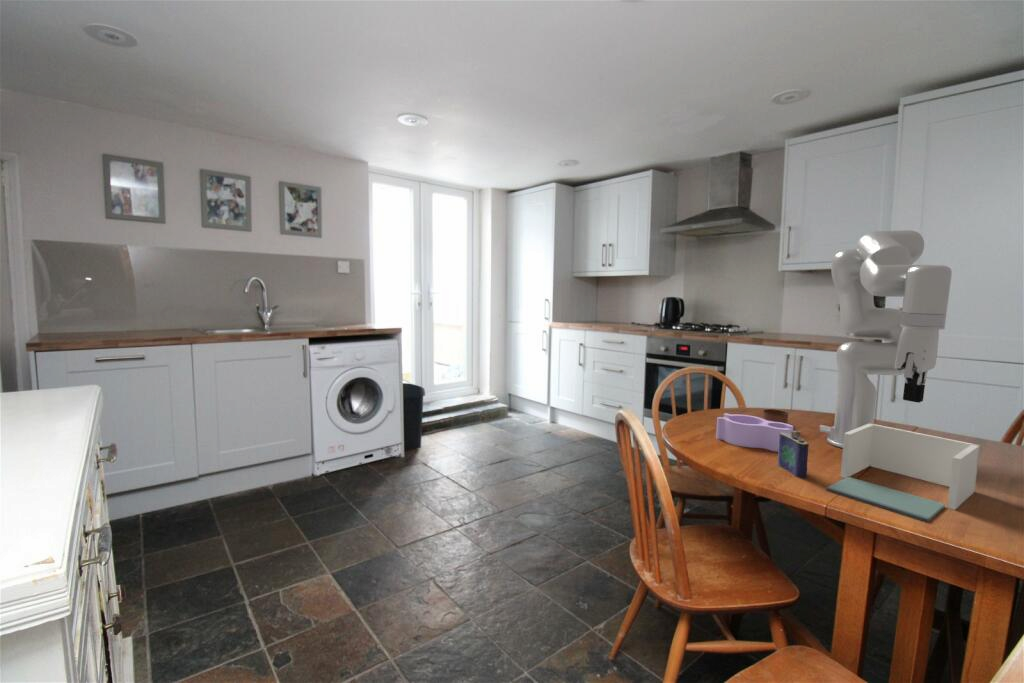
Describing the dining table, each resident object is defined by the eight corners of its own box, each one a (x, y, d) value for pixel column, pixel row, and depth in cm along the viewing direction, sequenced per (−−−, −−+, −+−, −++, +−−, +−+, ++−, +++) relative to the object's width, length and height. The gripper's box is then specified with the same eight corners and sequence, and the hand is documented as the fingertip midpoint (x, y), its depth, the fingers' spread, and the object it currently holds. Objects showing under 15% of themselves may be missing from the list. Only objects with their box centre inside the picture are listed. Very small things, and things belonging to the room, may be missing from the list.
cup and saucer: (752, 423, 166) (754, 406, 165) (791, 427, 161) (793, 409, 161) (756, 432, 155) (757, 414, 154) (797, 437, 150) (799, 418, 150)
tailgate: (848, 476, 114) (826, 487, 107) (944, 503, 99) (927, 519, 93) (847, 481, 114) (826, 493, 107) (944, 509, 99) (926, 525, 93)
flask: (774, 467, 124) (777, 425, 122) (786, 467, 124) (789, 425, 123) (798, 482, 114) (802, 436, 113) (811, 482, 114) (815, 437, 113)
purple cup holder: (794, 445, 142) (796, 423, 141) (785, 456, 133) (787, 432, 132) (725, 432, 155) (726, 411, 154) (712, 440, 146) (714, 419, 145)
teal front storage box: (865, 467, 124) (869, 423, 123) (974, 495, 107) (980, 445, 106) (840, 480, 115) (844, 433, 114) (954, 514, 98) (960, 459, 97)
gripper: (913, 318, 112) (904, 392, 114) (888, 321, 104) (879, 402, 106) (955, 320, 105) (945, 399, 108) (932, 324, 97) (921, 410, 100)
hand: (912, 400), depth 107 cm, fingers closed
